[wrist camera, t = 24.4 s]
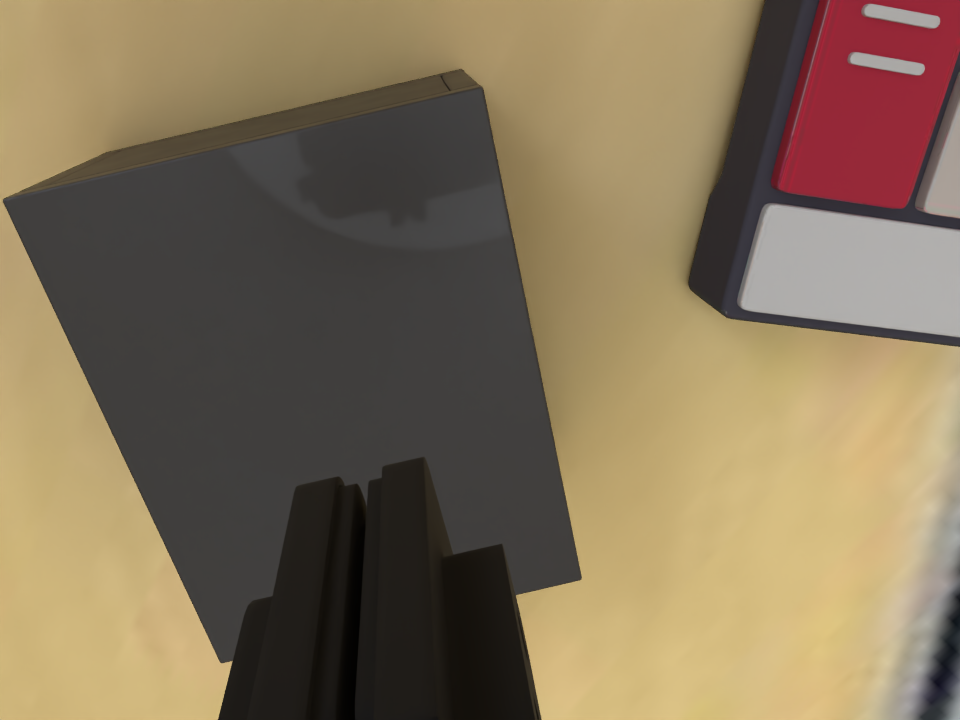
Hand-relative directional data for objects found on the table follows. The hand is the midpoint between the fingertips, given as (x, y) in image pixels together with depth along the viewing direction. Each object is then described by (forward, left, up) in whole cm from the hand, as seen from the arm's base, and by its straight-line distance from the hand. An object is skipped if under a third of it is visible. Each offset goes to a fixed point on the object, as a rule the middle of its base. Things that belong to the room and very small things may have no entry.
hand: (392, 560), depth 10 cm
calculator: (0, +18, -20) cm, 27 cm away
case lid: (+4, -3, -13) cm, 14 cm away
